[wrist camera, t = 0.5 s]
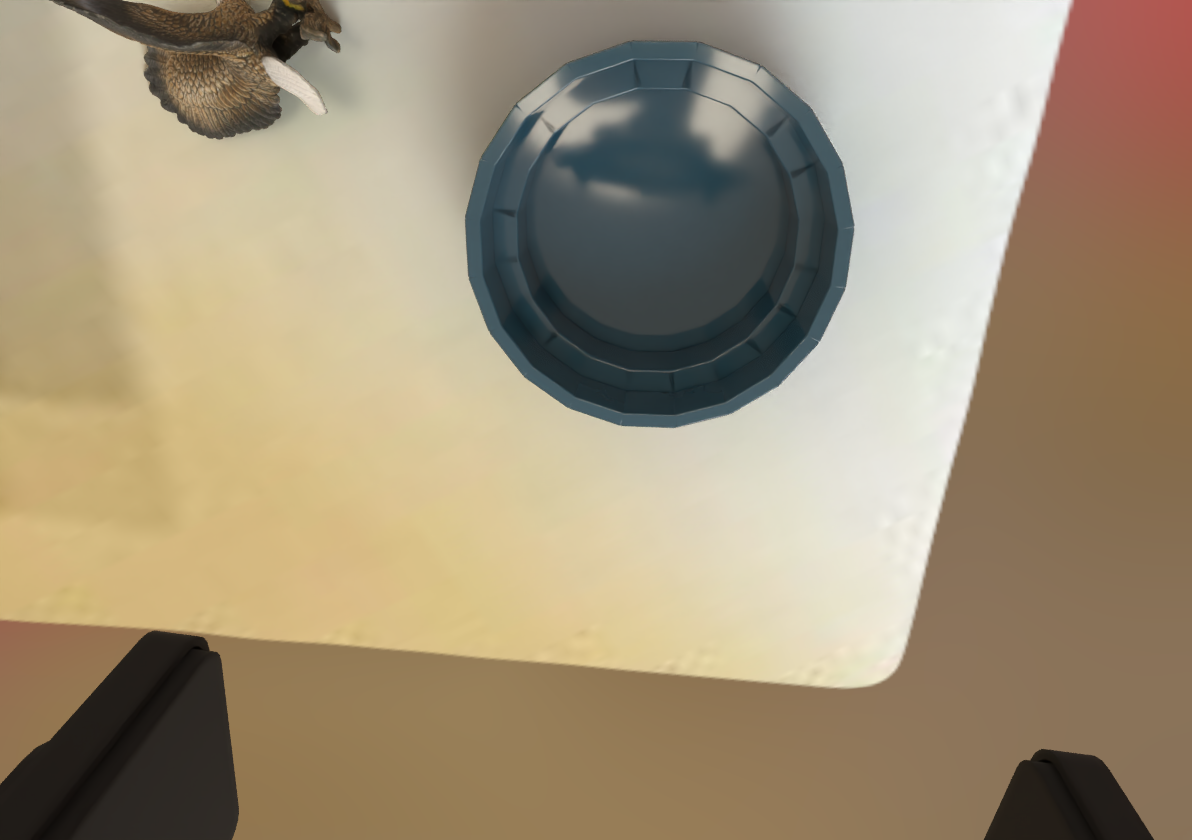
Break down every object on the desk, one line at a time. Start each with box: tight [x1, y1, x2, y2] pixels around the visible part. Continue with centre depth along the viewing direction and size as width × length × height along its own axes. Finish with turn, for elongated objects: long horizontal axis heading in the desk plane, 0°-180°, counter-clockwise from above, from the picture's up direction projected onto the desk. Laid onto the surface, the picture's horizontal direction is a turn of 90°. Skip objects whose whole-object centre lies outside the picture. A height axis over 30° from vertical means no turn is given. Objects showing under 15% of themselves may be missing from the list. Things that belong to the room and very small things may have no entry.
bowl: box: [465, 41, 854, 428], centre depth 32 cm, size 14×14×6 cm
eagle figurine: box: [50, 0, 341, 139], centre depth 30 cm, size 8×7×9 cm
